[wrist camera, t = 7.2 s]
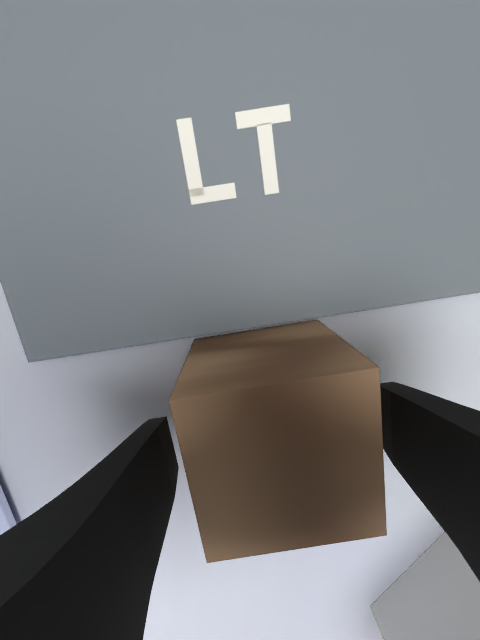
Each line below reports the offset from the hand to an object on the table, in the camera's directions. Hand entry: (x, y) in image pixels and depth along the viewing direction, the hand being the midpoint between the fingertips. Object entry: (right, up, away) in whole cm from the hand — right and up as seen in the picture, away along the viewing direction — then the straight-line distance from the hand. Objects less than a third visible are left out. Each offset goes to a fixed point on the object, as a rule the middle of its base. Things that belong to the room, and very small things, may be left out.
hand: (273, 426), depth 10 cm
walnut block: (0, +1, +2) cm, 3 cm away
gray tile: (-1, +9, 0) cm, 9 cm away
